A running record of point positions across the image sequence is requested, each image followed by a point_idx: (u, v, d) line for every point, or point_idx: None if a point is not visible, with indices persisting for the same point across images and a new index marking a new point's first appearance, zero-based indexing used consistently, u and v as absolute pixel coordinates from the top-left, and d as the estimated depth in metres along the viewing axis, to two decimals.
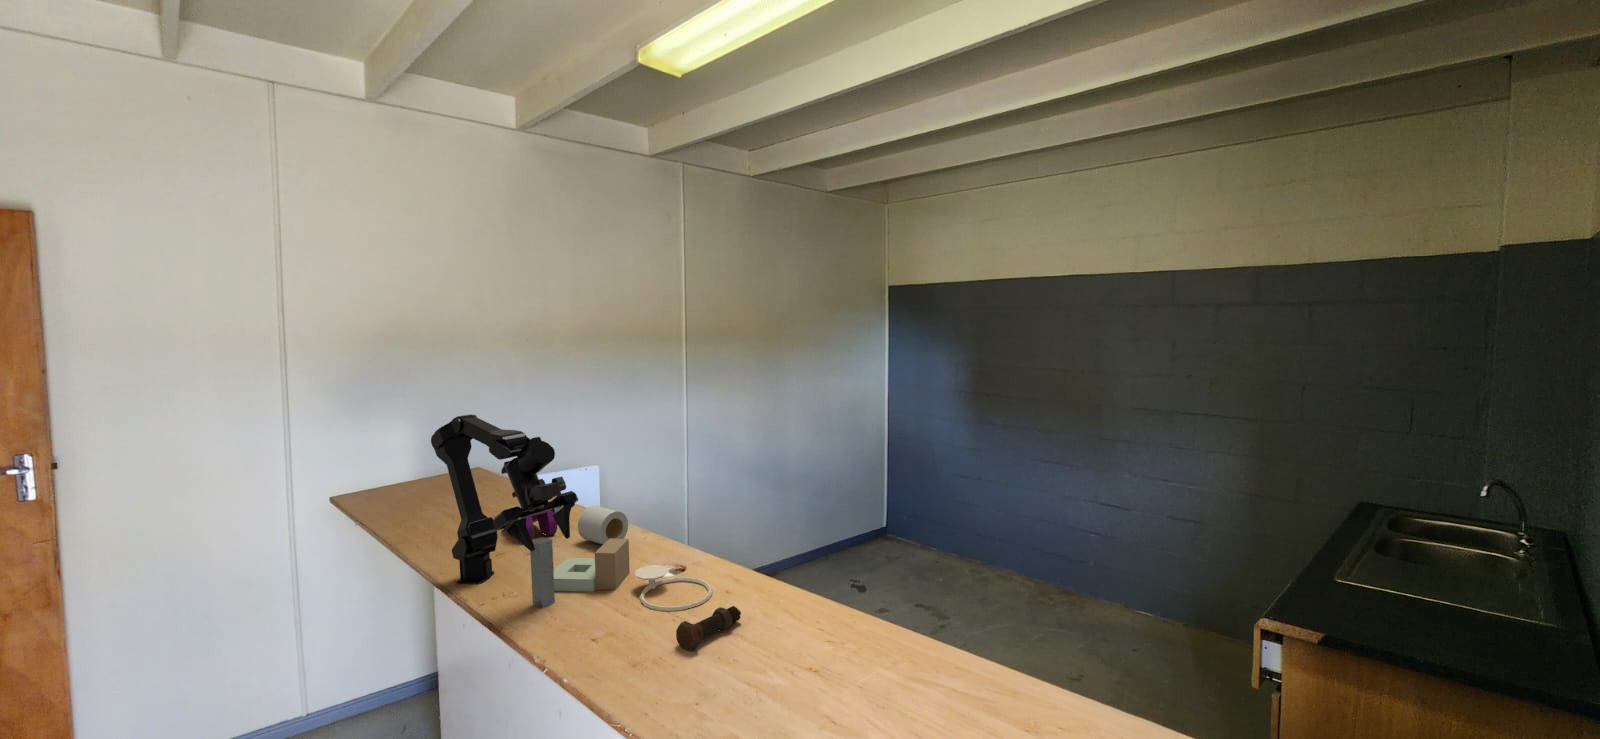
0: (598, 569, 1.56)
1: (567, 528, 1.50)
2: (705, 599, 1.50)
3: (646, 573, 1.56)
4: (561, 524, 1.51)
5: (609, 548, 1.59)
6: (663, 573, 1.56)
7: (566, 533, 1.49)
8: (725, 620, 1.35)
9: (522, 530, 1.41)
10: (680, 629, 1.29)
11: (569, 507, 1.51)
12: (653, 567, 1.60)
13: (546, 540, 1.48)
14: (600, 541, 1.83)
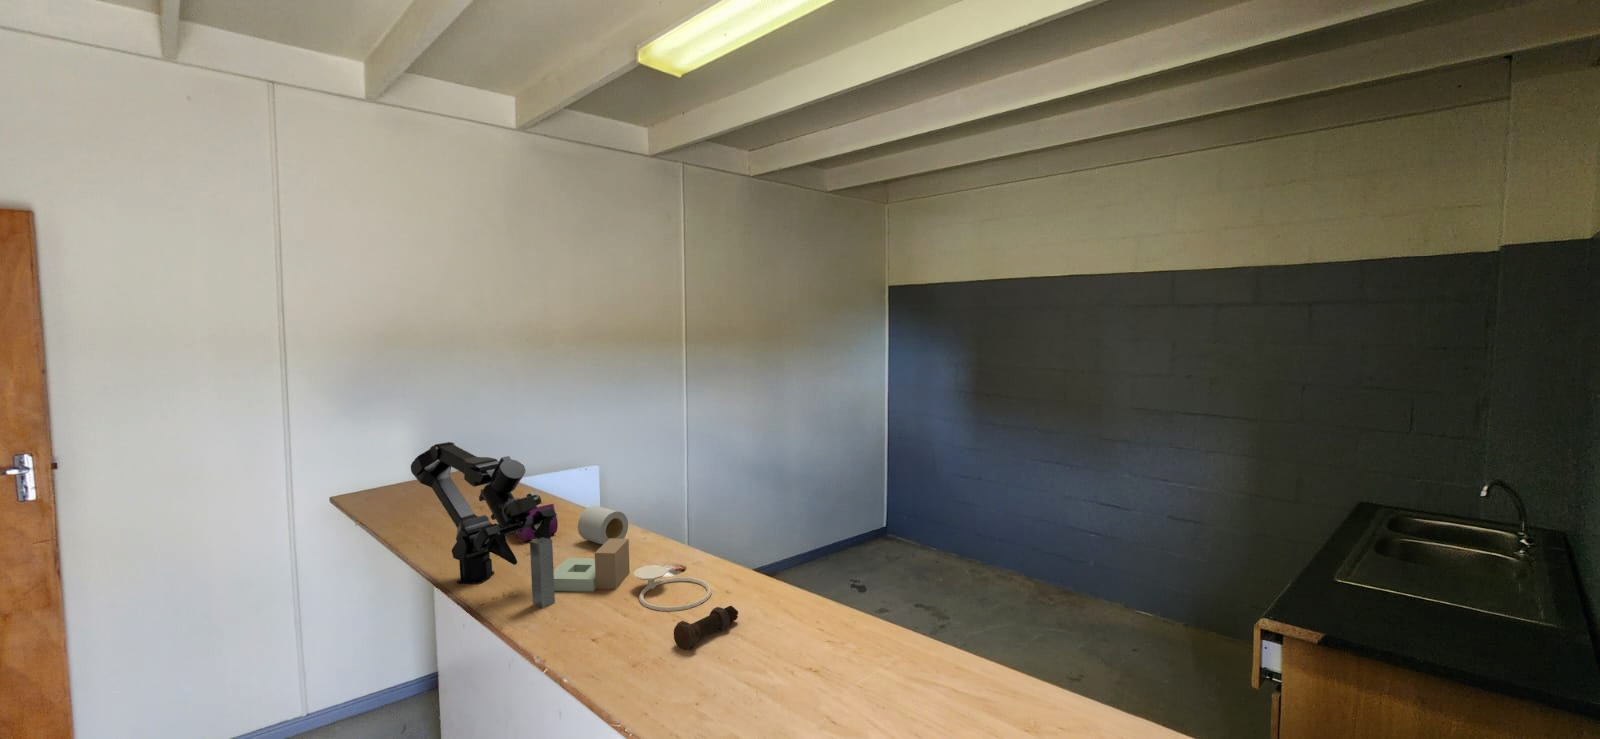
0: (598, 569, 1.56)
1: None
2: (704, 599, 1.50)
3: (645, 573, 1.56)
4: None
5: (609, 548, 1.59)
6: (662, 573, 1.56)
7: None
8: (722, 620, 1.35)
9: (502, 545, 1.46)
10: (678, 629, 1.29)
11: (548, 521, 1.56)
12: (652, 567, 1.59)
13: (546, 540, 1.48)
14: (600, 541, 1.83)
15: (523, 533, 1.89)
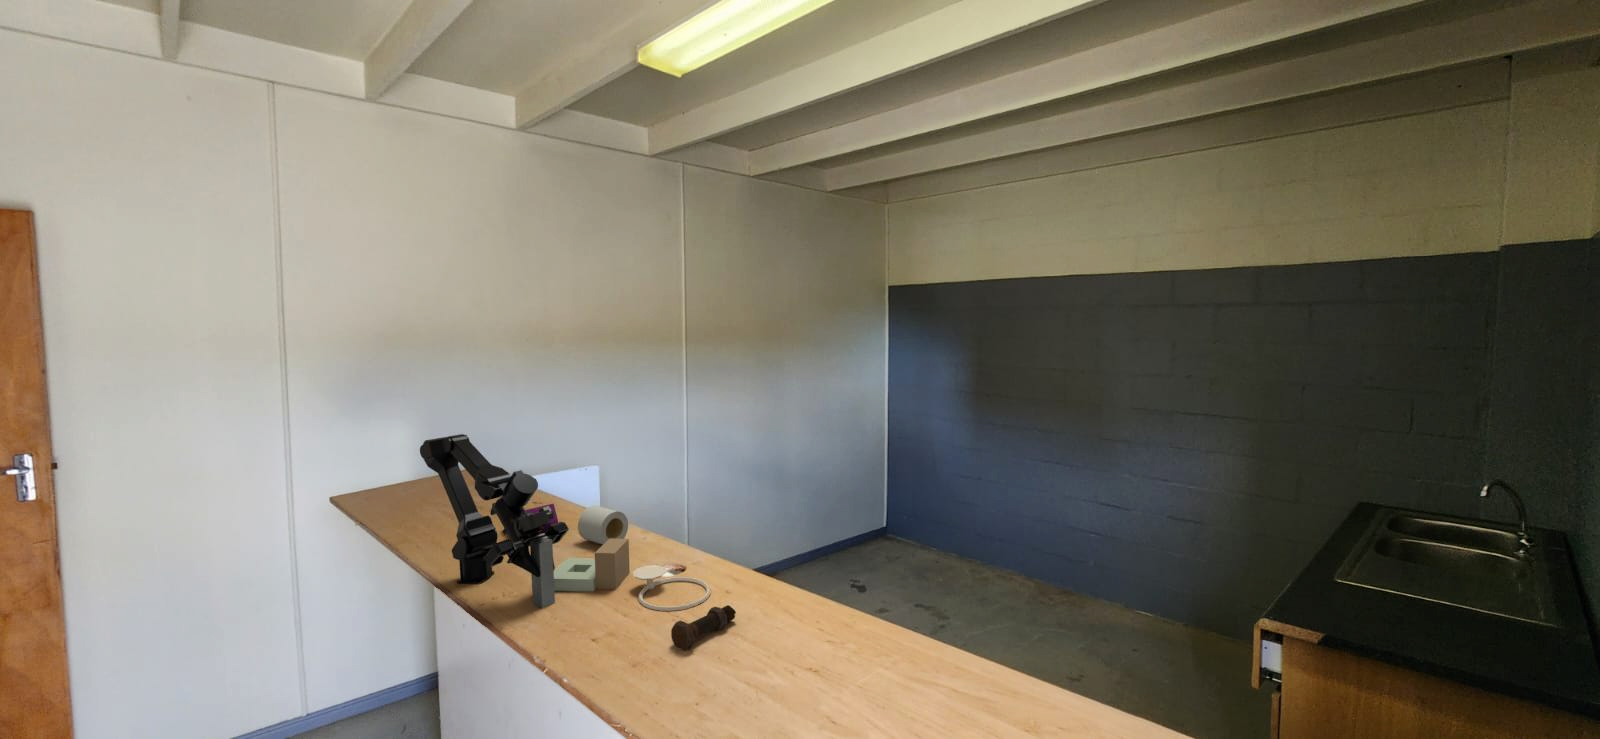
0: (598, 569, 1.56)
1: None
2: (704, 599, 1.50)
3: (644, 573, 1.56)
4: None
5: (609, 548, 1.59)
6: (661, 573, 1.56)
7: None
8: (720, 619, 1.35)
9: (526, 557, 1.46)
10: (675, 628, 1.29)
11: None
12: (650, 567, 1.59)
13: (546, 540, 1.48)
14: (600, 541, 1.83)
15: None
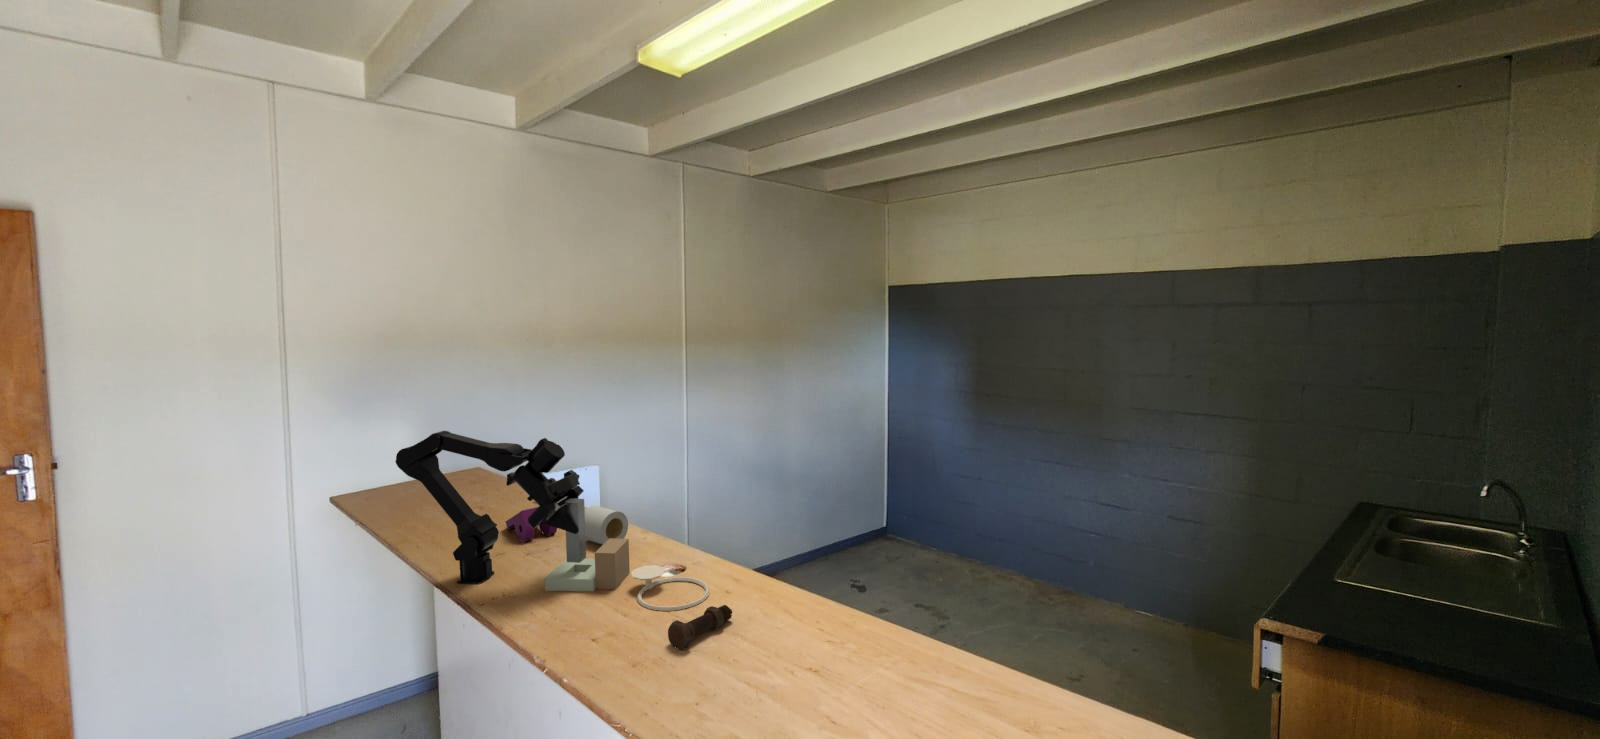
0: (598, 569, 1.56)
1: None
2: (703, 598, 1.50)
3: (642, 573, 1.56)
4: None
5: (609, 548, 1.59)
6: (660, 573, 1.56)
7: None
8: (717, 619, 1.35)
9: (564, 516, 1.56)
10: (672, 628, 1.29)
11: None
12: (649, 567, 1.59)
13: (579, 499, 1.59)
14: (600, 541, 1.83)
15: (523, 533, 1.89)
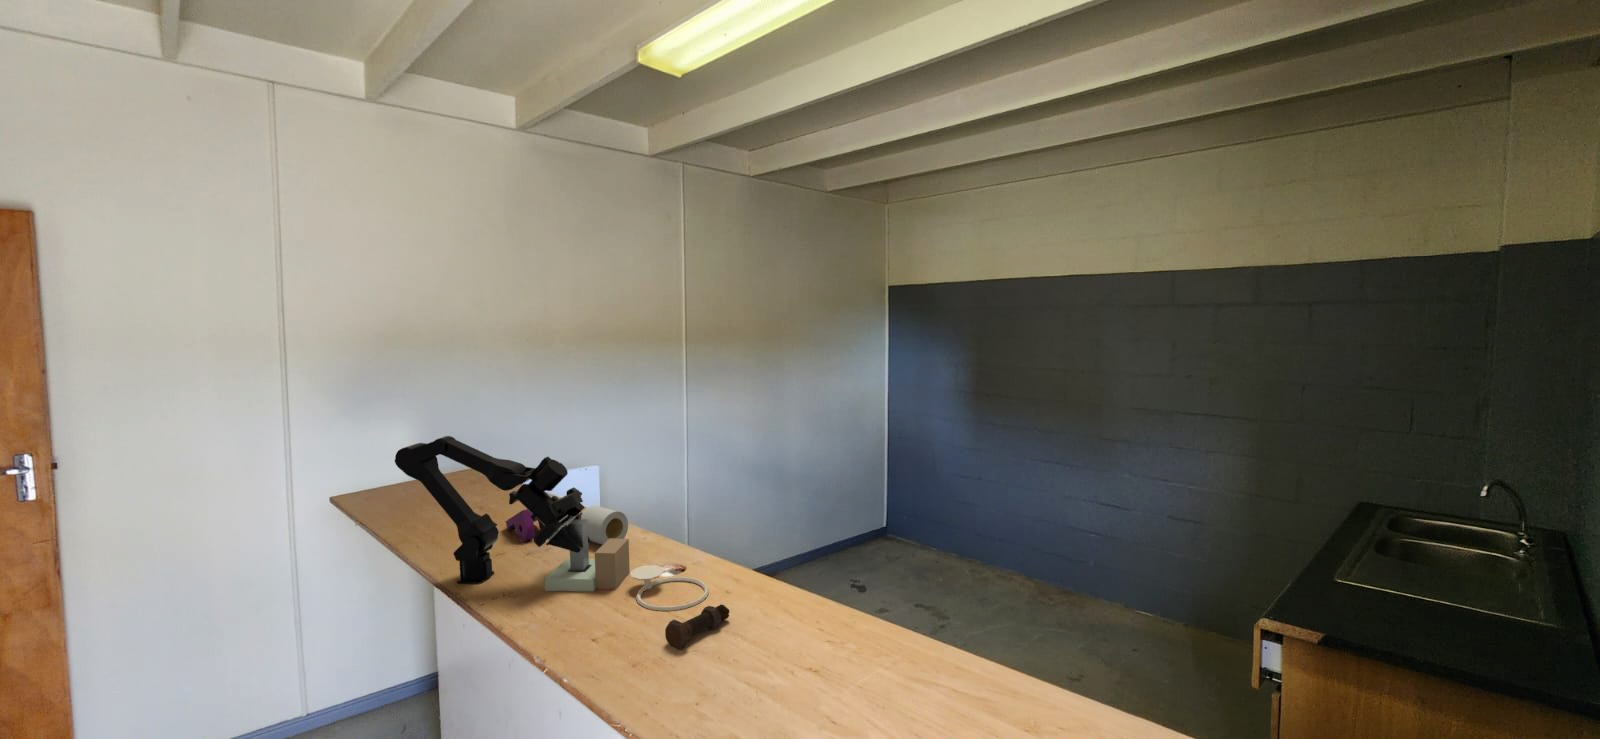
0: (598, 569, 1.56)
1: None
2: (702, 598, 1.50)
3: (641, 573, 1.56)
4: None
5: (609, 548, 1.59)
6: (659, 573, 1.56)
7: None
8: (714, 618, 1.36)
9: (567, 536, 1.57)
10: (670, 628, 1.30)
11: (580, 516, 1.66)
12: (648, 567, 1.59)
13: (582, 520, 1.62)
14: (600, 541, 1.83)
15: (523, 533, 1.89)
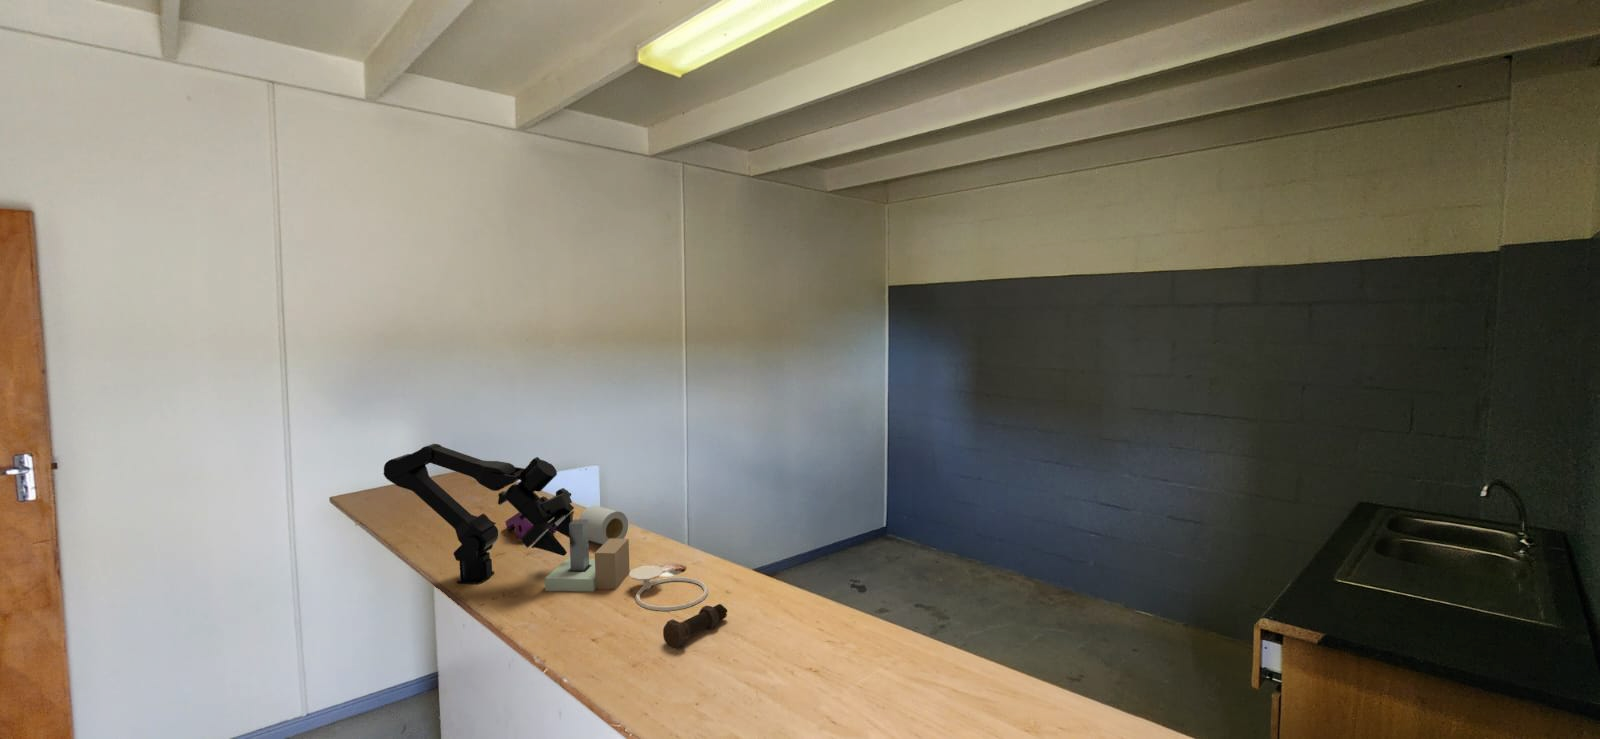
0: (598, 569, 1.56)
1: None
2: (702, 598, 1.50)
3: (640, 573, 1.56)
4: (568, 532, 1.66)
5: (609, 548, 1.59)
6: (658, 573, 1.56)
7: None
8: (712, 618, 1.36)
9: (553, 539, 1.55)
10: (667, 627, 1.30)
11: (571, 515, 1.67)
12: (647, 567, 1.59)
13: (583, 520, 1.62)
14: (600, 541, 1.83)
15: (523, 533, 1.89)
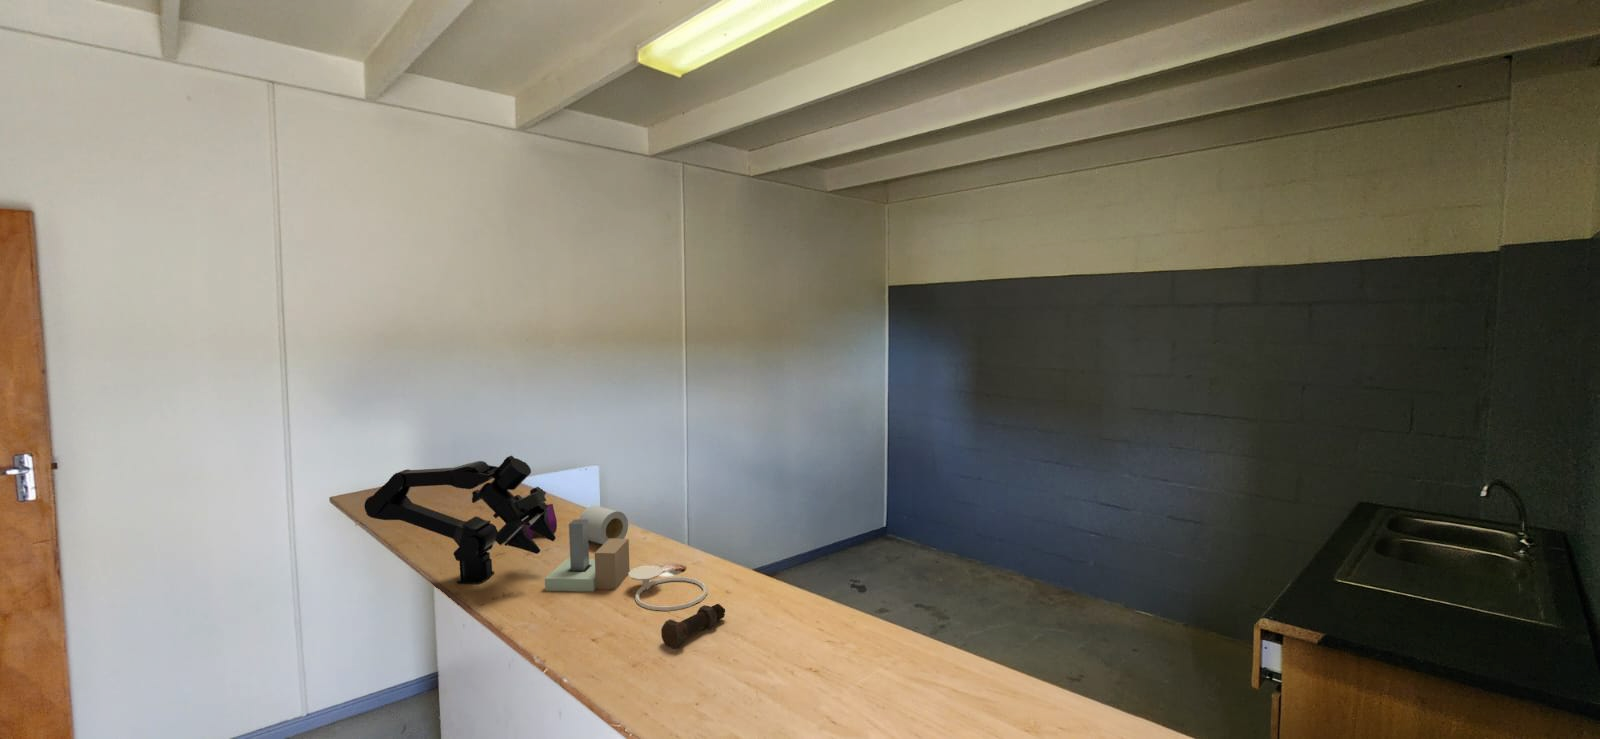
0: (598, 569, 1.56)
1: (551, 531, 1.67)
2: (701, 598, 1.50)
3: (640, 573, 1.56)
4: (543, 531, 1.67)
5: (609, 548, 1.59)
6: (657, 573, 1.56)
7: (551, 536, 1.66)
8: (710, 618, 1.36)
9: (526, 536, 1.56)
10: (666, 627, 1.30)
11: (546, 514, 1.68)
12: (646, 567, 1.59)
13: (583, 520, 1.62)
14: (600, 541, 1.83)
15: None
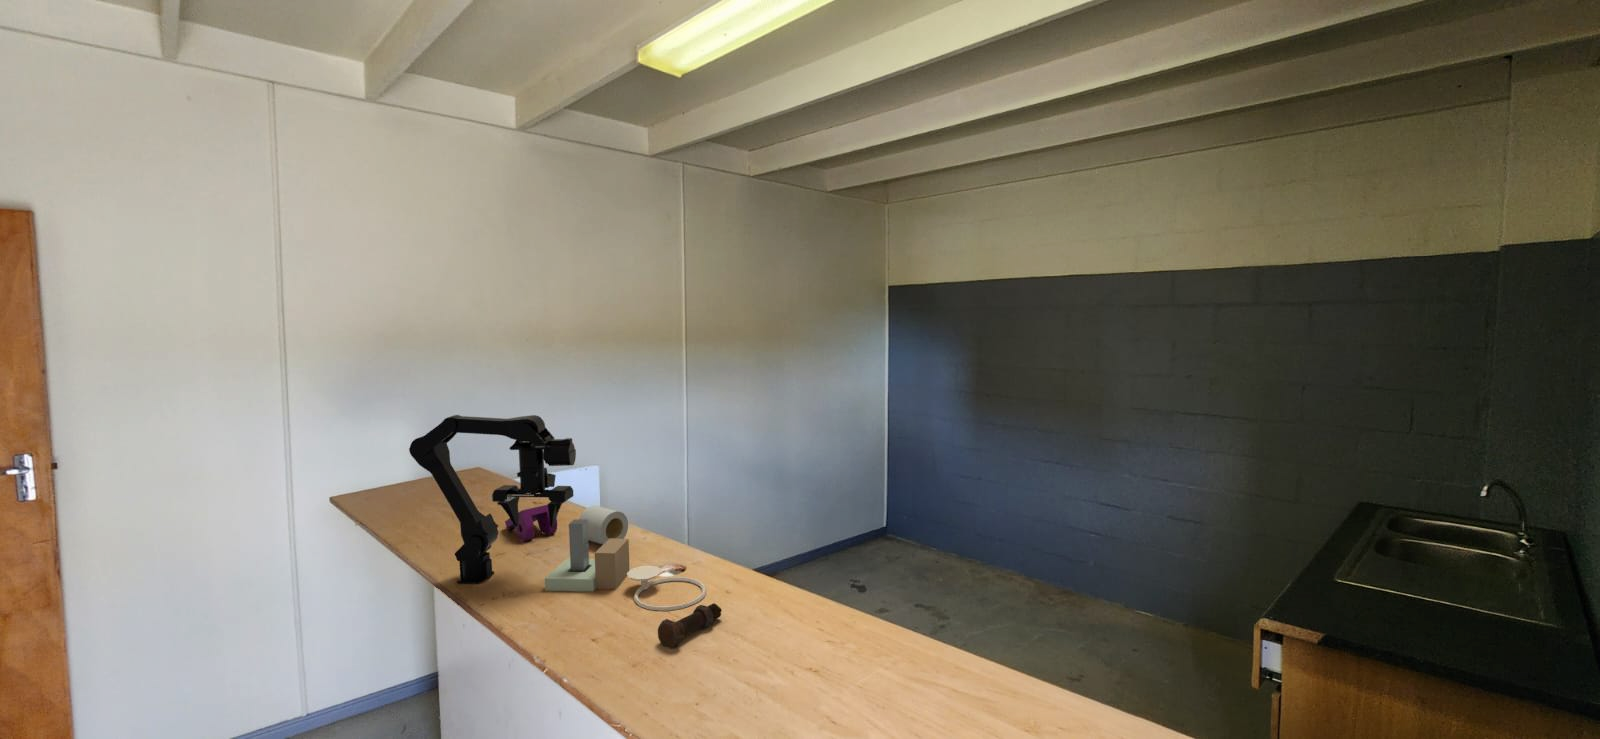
0: (598, 569, 1.56)
1: None
2: (700, 598, 1.50)
3: (638, 574, 1.56)
4: (515, 513, 1.63)
5: (609, 548, 1.59)
6: (656, 573, 1.56)
7: (518, 521, 1.64)
8: (706, 617, 1.36)
9: None
10: (662, 627, 1.30)
11: None
12: (644, 568, 1.59)
13: (583, 520, 1.62)
14: (600, 541, 1.83)
15: (523, 533, 1.89)
